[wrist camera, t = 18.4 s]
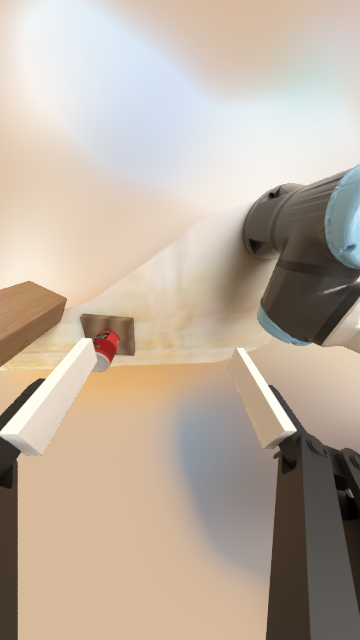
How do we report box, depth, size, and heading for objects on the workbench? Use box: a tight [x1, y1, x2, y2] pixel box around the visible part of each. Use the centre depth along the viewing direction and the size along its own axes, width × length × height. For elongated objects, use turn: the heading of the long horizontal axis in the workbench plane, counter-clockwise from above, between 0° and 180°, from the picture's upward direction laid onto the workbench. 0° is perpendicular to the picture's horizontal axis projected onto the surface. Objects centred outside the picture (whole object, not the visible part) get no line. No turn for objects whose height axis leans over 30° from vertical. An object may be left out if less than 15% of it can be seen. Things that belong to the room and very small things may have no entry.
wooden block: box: [0, 281, 67, 367], centre depth 34 cm, size 10×10×20 cm
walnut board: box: [80, 314, 135, 356], centre depth 49 cm, size 16×16×2 cm
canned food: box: [92, 330, 120, 372], centre depth 44 cm, size 8×8×11 cm
